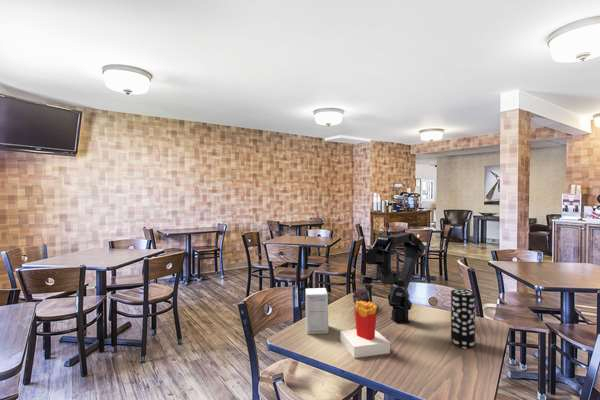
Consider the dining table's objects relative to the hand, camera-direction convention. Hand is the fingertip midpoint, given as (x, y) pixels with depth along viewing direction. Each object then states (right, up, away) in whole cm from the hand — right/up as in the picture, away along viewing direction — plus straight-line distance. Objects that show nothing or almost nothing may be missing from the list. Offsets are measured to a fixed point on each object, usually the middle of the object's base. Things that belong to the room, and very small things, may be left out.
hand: (380, 301), depth 141 cm
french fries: (-9, -9, -15) cm, 20 cm away
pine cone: (-3, -12, +27) cm, 30 cm away
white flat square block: (-10, -13, -15) cm, 22 cm away
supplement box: (-27, -13, +1) cm, 30 cm away
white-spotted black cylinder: (+29, -13, -13) cm, 34 cm away
